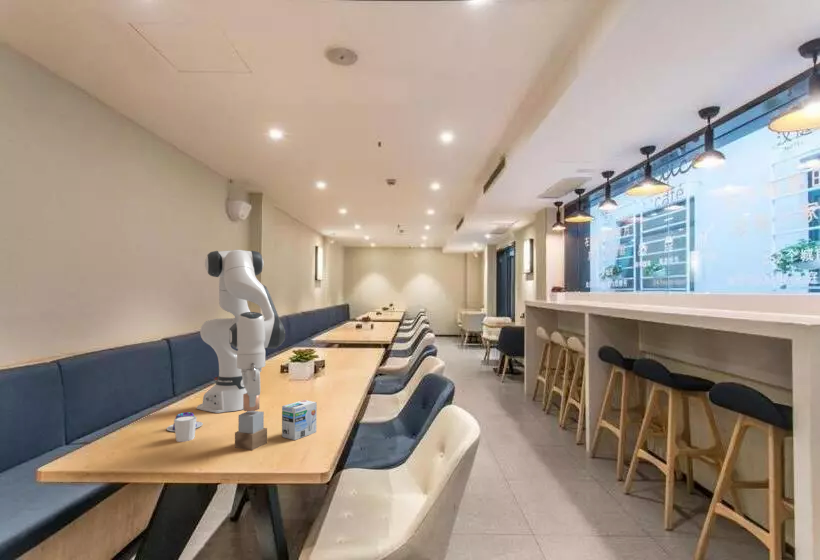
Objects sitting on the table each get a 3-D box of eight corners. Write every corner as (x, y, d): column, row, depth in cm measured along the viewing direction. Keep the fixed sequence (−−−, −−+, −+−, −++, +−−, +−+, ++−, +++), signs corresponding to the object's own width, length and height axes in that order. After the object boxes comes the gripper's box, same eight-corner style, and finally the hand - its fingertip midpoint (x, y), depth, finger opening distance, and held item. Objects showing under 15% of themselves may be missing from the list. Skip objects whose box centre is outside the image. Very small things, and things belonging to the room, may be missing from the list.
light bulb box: (294, 440, 144) (294, 408, 145) (281, 437, 148) (281, 405, 148) (317, 432, 154) (317, 401, 154) (303, 429, 157) (303, 399, 157)
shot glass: (173, 443, 143) (173, 422, 143) (174, 437, 149) (174, 417, 149) (196, 440, 146) (196, 419, 146) (196, 434, 152) (196, 414, 152)
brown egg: (243, 412, 138) (243, 396, 138) (242, 408, 142) (242, 393, 142) (260, 410, 140) (260, 394, 140) (258, 406, 144) (258, 391, 145)
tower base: (234, 448, 138) (234, 432, 139) (250, 441, 145) (250, 426, 145) (252, 450, 136) (252, 434, 136) (267, 443, 143) (267, 428, 143)
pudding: (179, 423, 167) (180, 409, 167) (209, 423, 166) (209, 409, 166) (159, 433, 155) (159, 418, 155) (190, 433, 154) (190, 418, 154)
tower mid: (238, 432, 139) (238, 415, 139) (249, 427, 144) (249, 410, 144) (252, 433, 137) (252, 416, 137) (263, 428, 142) (263, 411, 143)
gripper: (265, 365, 134) (265, 410, 133) (258, 357, 152) (258, 396, 152) (243, 367, 131) (243, 413, 130) (238, 358, 149) (238, 398, 149)
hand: (251, 404), depth 141 cm, fingers closed on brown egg, 5 cm apart
